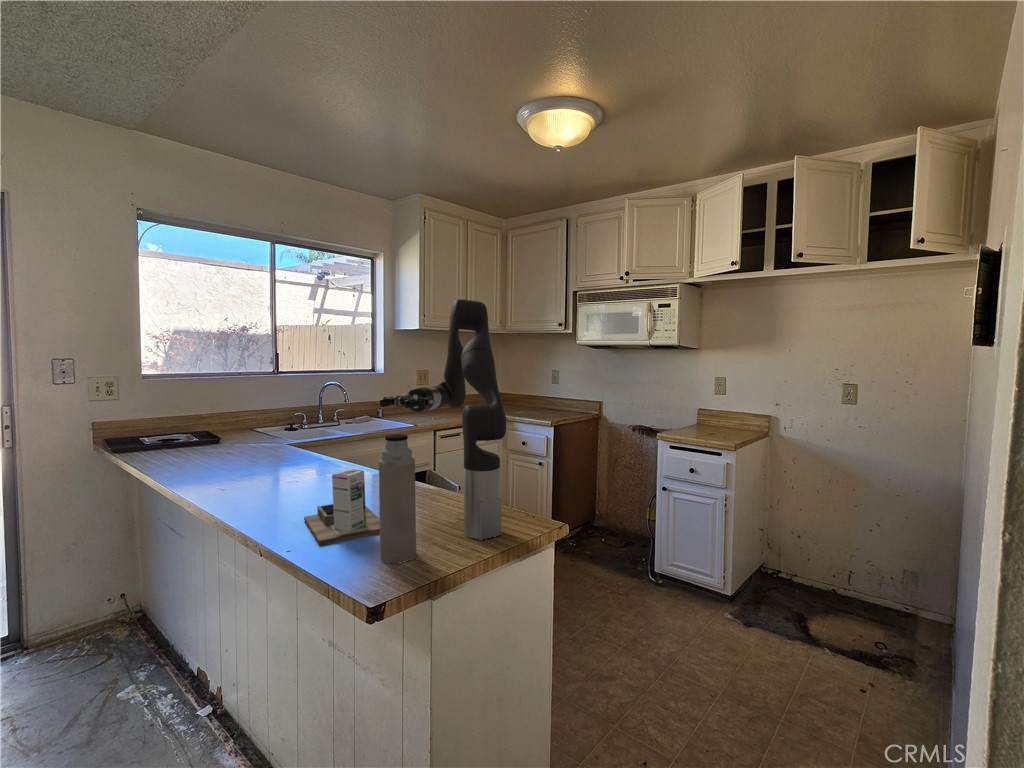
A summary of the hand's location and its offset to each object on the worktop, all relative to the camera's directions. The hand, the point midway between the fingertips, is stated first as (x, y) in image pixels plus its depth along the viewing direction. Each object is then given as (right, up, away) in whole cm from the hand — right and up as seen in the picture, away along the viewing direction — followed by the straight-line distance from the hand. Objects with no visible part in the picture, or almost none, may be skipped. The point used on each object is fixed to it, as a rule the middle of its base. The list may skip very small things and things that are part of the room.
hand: (393, 403), depth 139 cm
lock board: (-11, -32, -8) cm, 35 cm away
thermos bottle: (+8, -34, -27) cm, 44 cm away
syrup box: (-8, -31, -12) cm, 35 cm away
